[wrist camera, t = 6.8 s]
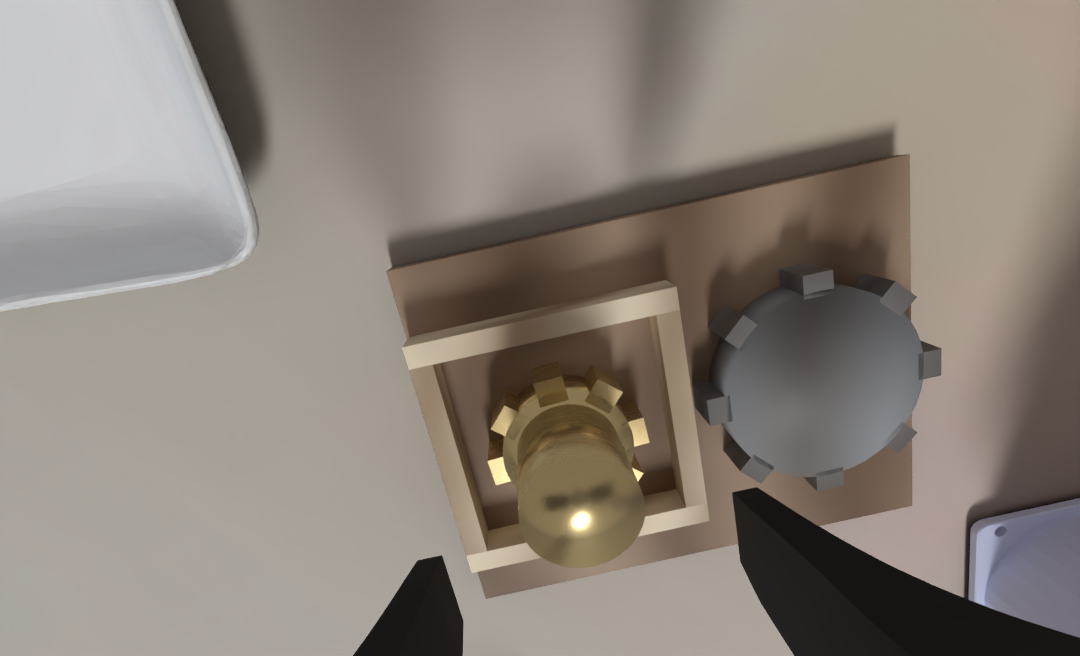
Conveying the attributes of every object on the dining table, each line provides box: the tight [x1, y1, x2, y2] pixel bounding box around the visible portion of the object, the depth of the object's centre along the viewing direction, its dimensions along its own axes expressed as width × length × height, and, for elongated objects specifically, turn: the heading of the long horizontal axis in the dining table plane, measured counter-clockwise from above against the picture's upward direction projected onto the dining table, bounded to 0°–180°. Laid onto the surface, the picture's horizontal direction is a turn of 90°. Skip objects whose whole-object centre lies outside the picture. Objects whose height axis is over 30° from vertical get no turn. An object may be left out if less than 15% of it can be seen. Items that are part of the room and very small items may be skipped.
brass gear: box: [488, 361, 650, 568], centre depth 17 cm, size 6×6×5 cm
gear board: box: [386, 154, 941, 599], centre depth 19 cm, size 18×14×2 cm
